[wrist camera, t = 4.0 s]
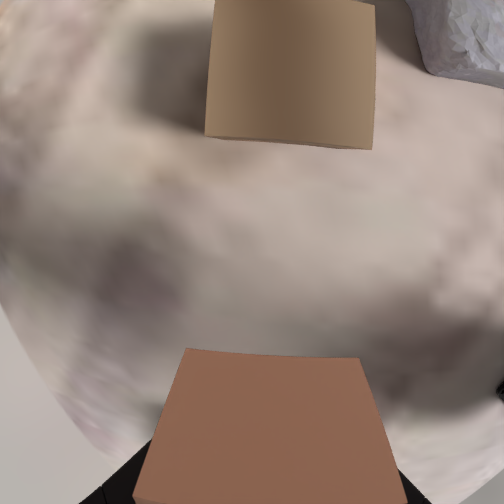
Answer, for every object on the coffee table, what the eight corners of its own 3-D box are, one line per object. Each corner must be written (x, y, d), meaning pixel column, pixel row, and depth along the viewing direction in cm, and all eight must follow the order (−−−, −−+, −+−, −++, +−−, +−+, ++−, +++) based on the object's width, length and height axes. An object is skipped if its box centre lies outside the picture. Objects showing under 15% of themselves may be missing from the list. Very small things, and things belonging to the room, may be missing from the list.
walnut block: (342, 46, 12) (374, 5, 7) (337, 148, 14) (371, 149, 9) (232, 36, 12) (216, -11, 8) (225, 140, 14) (204, 135, 9)
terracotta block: (358, 357, 9) (407, 502, 4) (325, 456, 10) (339, 568, 6) (186, 348, 9) (132, 496, 4) (194, 450, 10) (170, 561, 6)
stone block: (370, -48, 11) (420, 92, 12) (391, -98, 7) (472, 53, 8) (510, -6, 11) (557, 117, 12) (543, -33, 6) (605, 104, 7)
